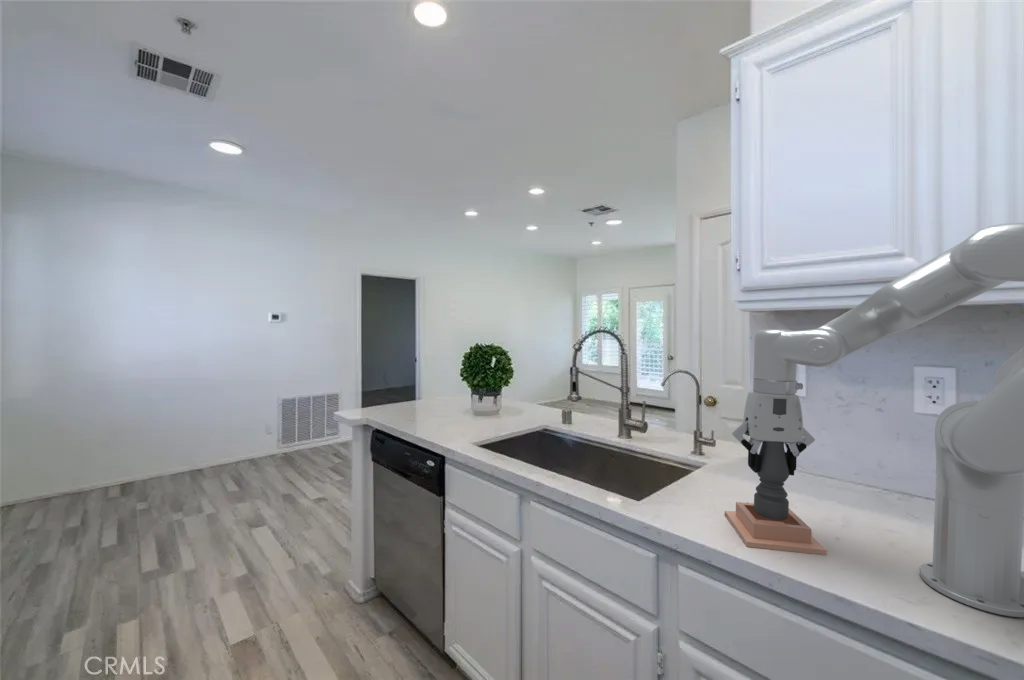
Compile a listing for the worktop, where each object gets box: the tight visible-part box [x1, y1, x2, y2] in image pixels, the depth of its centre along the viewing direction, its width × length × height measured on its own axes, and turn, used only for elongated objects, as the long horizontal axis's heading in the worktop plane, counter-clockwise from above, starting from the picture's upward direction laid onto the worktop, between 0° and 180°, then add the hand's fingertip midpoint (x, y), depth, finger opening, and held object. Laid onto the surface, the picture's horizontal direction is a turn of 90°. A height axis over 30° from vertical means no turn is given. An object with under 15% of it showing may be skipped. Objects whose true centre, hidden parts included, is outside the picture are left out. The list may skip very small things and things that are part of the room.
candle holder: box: [753, 399, 790, 520], centre depth 85 cm, size 6×6×25 cm
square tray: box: [724, 501, 828, 556], centre depth 85 cm, size 14×14×4 cm
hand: (771, 471), depth 85 cm, fingers closed on candle holder, 5 cm apart
